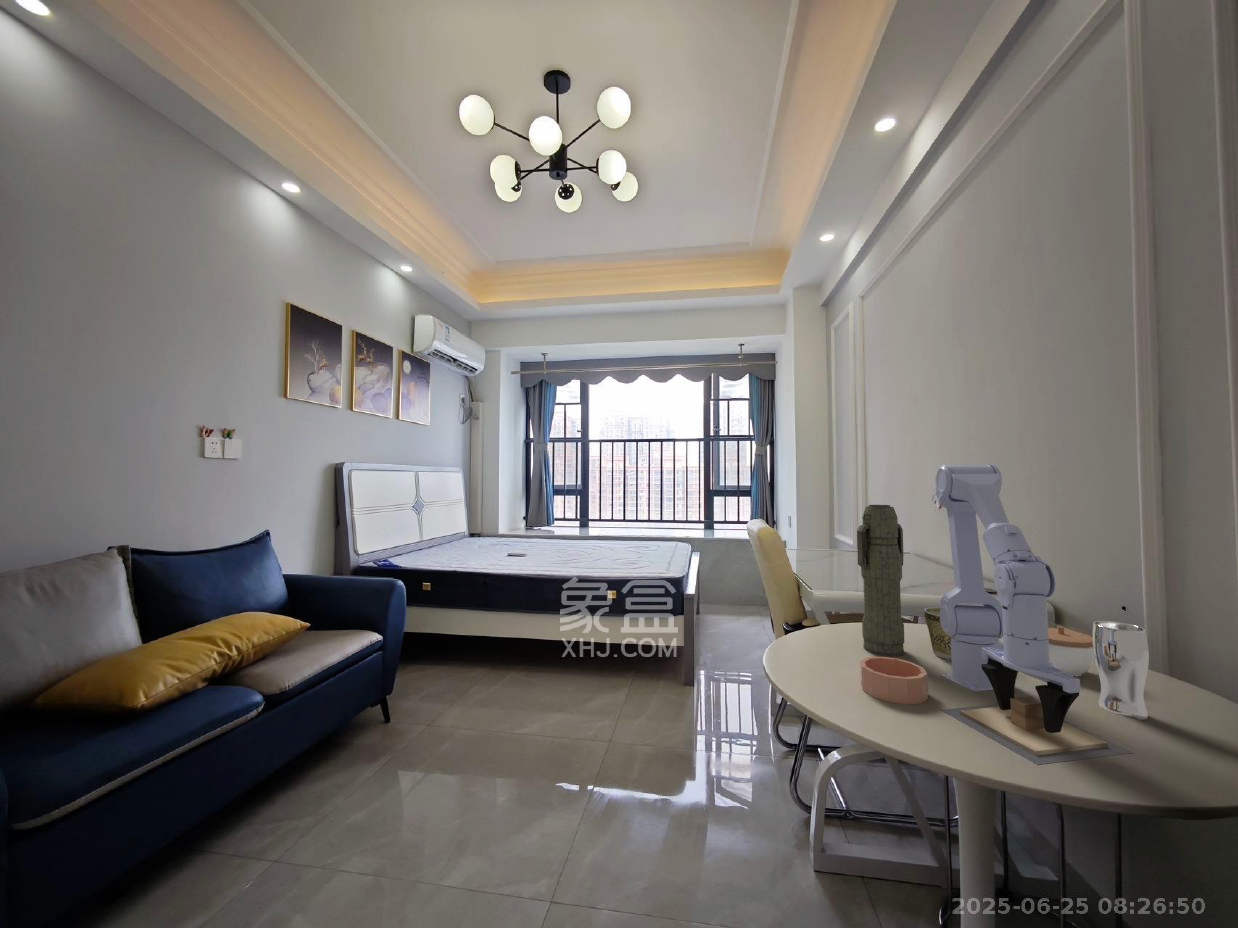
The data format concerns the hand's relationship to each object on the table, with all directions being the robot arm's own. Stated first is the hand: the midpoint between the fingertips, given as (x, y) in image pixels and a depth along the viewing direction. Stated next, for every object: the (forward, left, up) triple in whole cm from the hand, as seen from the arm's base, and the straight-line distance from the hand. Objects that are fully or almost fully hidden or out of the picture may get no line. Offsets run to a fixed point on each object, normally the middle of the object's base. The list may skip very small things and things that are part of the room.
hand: (1028, 719), depth 79 cm
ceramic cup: (-18, -33, -2) cm, 38 cm away
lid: (0, 0, -2) cm, 2 cm away
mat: (0, 0, -2) cm, 2 cm away
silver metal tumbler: (-23, -3, -2) cm, 23 cm away
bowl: (+11, -17, -2) cm, 20 cm away
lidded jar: (-32, -20, -2) cm, 38 cm away
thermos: (-4, -39, -2) cm, 39 cm away
